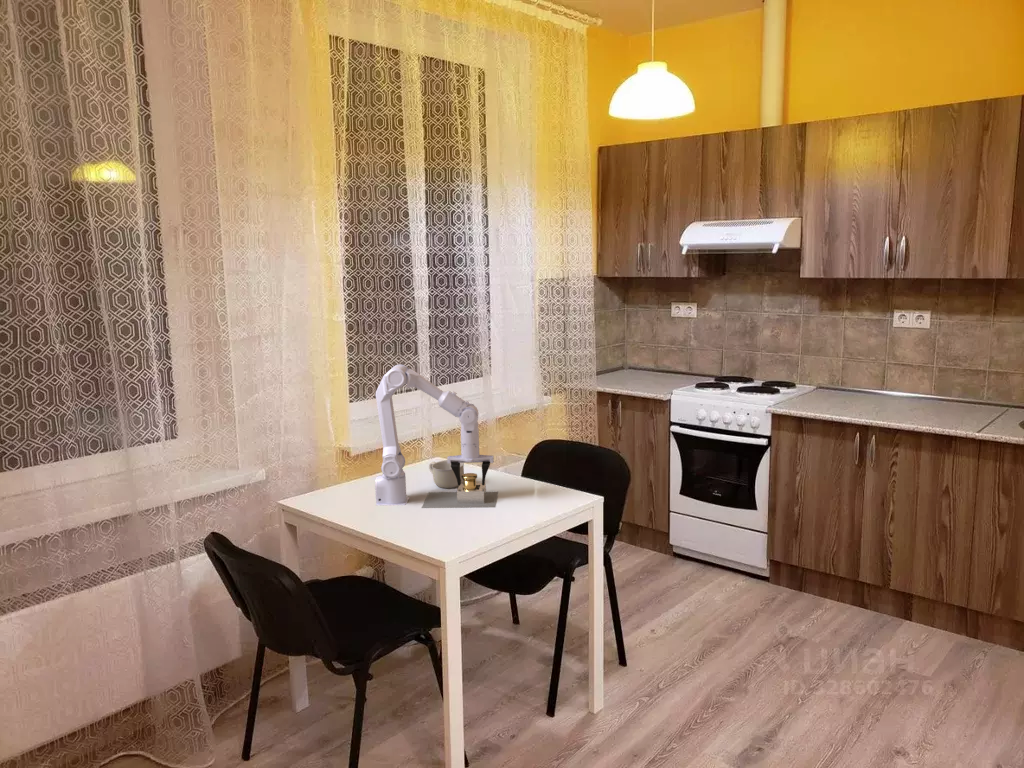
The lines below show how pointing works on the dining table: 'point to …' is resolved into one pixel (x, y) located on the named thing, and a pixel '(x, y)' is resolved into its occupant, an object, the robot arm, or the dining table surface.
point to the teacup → (445, 474)
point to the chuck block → (471, 494)
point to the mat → (451, 500)
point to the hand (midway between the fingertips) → (471, 484)
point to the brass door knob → (469, 481)
